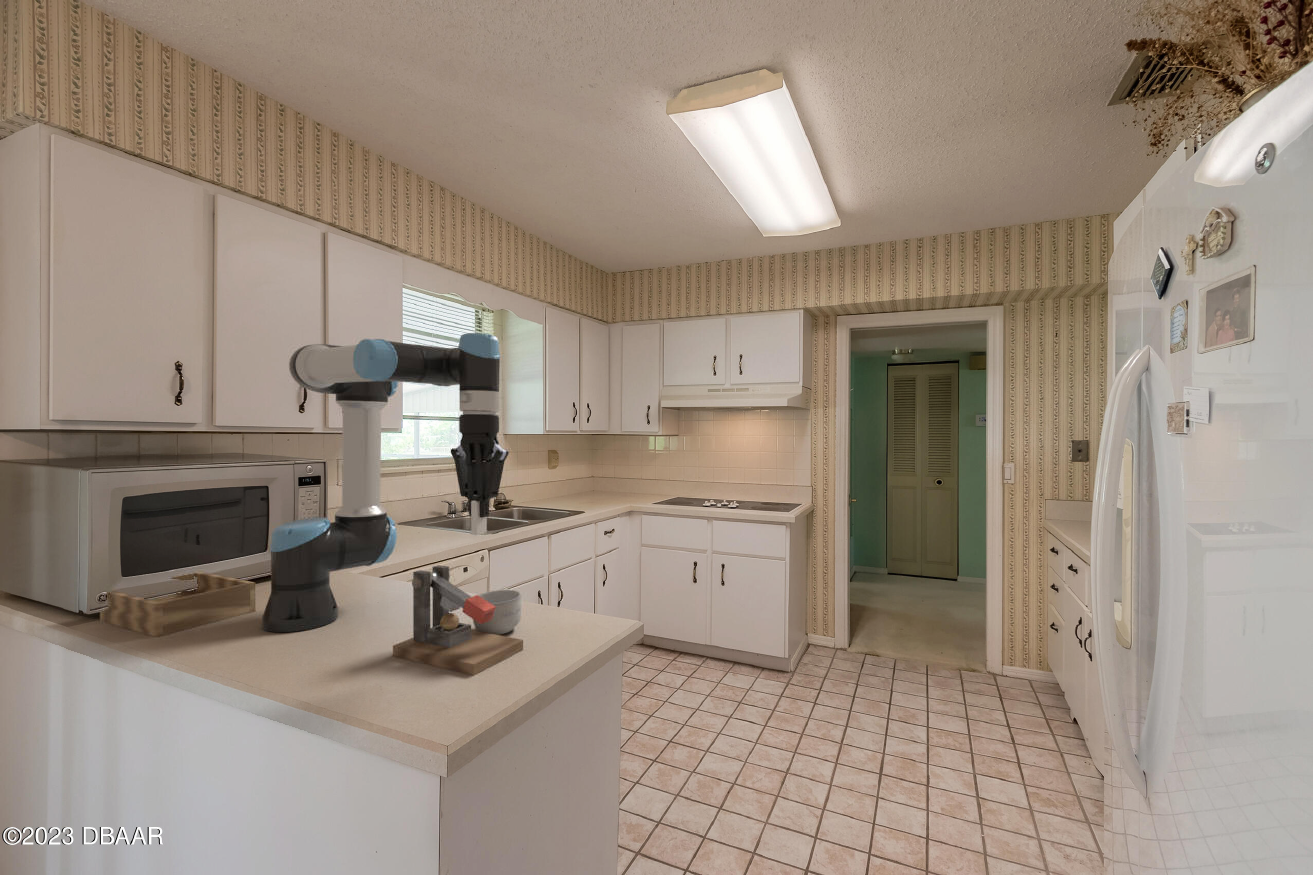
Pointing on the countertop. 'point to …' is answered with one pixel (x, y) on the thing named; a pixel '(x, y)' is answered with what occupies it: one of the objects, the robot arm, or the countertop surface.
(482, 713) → the countertop surface
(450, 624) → the walnut
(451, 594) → the lever
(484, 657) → the press base
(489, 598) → the teacup
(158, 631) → the open wooden box
